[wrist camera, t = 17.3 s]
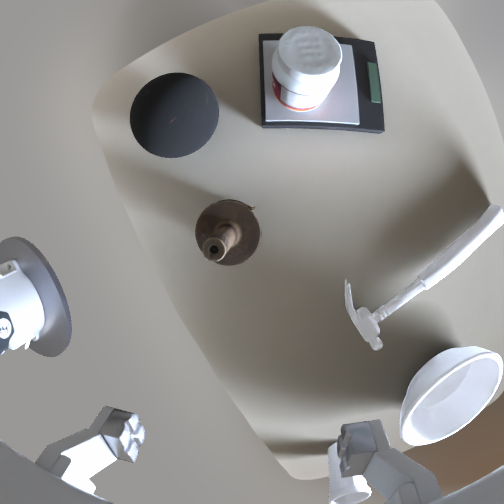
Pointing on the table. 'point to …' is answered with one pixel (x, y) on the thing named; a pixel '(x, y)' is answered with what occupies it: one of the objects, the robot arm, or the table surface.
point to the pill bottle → (305, 67)
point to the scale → (330, 92)
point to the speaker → (174, 115)
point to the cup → (344, 482)
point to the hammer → (425, 275)
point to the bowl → (448, 393)
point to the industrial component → (228, 232)
